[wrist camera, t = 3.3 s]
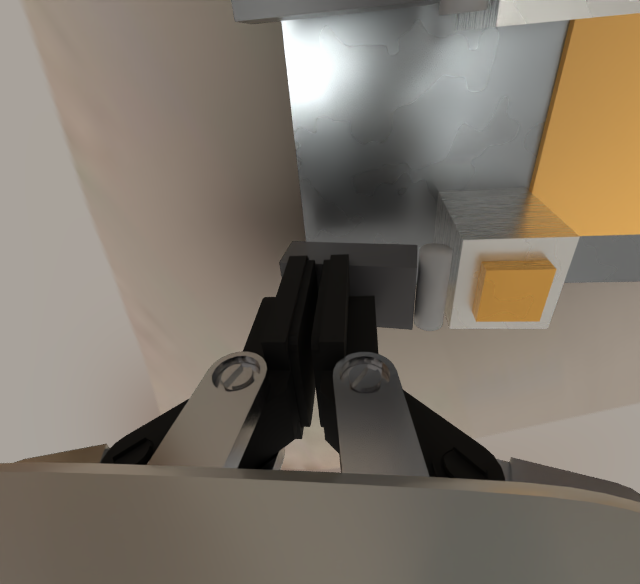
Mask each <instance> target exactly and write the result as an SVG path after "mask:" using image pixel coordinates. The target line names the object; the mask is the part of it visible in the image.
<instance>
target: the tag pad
mask: <svg viewBox="0 0 640 584" xmlns="http://www.w3.org/2000/svg"><path fill="white" fill-rule="evenodd" d="M529 191H530V192H531V193H532V194H533V195H534V196H535V197H536V198H538V199H539V200H540V201H541V202H542V203H543V204H544V205H545V206H546V207H548V208H549V209H550V210H551V211H552V212H553V213H554V214H555V215H556V216H558V217H559V218H560V219H561V220H562V221H563V222H564V223H565V224H566V225H568V226H569V227H570V228H571V229H572V230H573V231H574V232H575V233H576V234H578V235H579V236H602V235H636V234H640V13H635V14H625V15H614V16H604V17H594V18H584V19H573V20H570V23H569V27H568V31H567V35H566V39H565V44H564V48H563V52H562V56H561V60H560V64H559V68H558V72H557V76H556V80H555V85H554V89H553V93H552V97H551V101H550V105H549V109H548V113H547V117H546V122H545V126H544V130H543V134H542V138H541V142H540V146H539V150H538V154H537V158H536V163H535V167H534V171H533V175H532V179H531V183H530V187H529Z"/></svg>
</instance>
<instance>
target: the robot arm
mask: <svg viewBox="0 0 640 584" xmlns="http://www.w3.org/2000/svg"><path fill="white" fill-rule="evenodd" d="M315 388H316V393H317V401H318V409H319V418H320V425H321V427H324V433H325V440H326V441H327V442H328V443H329V444H330V445H331V446H332V447H333V448H334V449H335V450H336V451H337V452H338V453H339V457H340V467H341V473H334V472H311V471H286V470H280V469H281V466H282V463H283V460H284V455H285V446H287V445H288V444H289V443H291V442H292V441H293V440H294V439H302V435H303V429H304V427H310V425H311V420H312V412H313V404H314V396H315ZM0 584H640V494H639V493H638V492H636V491H634V490H633V489H631V488H628V487H626V486H623V485H621V484H618V483H614V482H611V481H607V480H602V479H598V478H594V477H590V476H586V475H582V474H578V473H574V472H570V471H565V470H561V469H557V468H553V467H549V466H544V465H541V464H537V463H532V462H528V461H524V460H520V459H516V458H512V457H511V459H510V462H506V461H503V460H499V459H496V458H495V457H494V456H493V455H492V454H491V453H490V452H489V451H488V450H487V449H486V448H484V447H483V446H482V445H480V444H479V443H478V442H476V441H475V440H473V439H472V438H471V437H469V436H468V435H466V434H465V433H463V432H462V431H461V430H459V429H458V428H456V427H455V426H454V425H452V424H451V423H449V422H448V421H447V420H445V419H444V418H442V417H441V416H439V415H438V414H437V413H435V412H434V411H432V410H431V409H430V408H428V407H427V406H425V405H424V404H422V403H421V402H420V401H418V400H417V399H415V398H414V397H413V396H411V395H410V394H408V393H407V392H406V391H404V390H403V389H402V386H401V383H400V380H399V376H398V373H397V370H396V369H395V367H394V365H393V363H391V362H390V361H389V360H388V359H387V358H385V357H383V356H381V355H379V354H378V341H377V325H376V309H375V296H350V280H349V254H339V255H331V256H330V259H327V260H324V262H323V268H322V274H321V280H320V286H319V292H318V287H317V277H316V267H315V260H309V258H308V255H305V256H289V259H288V262H287V265H286V268H285V271H284V274H283V277H282V280H281V283H280V286H279V289H278V292H277V295H276V297H265V298H263V300H262V302H261V305H260V308H259V310H258V313H257V315H256V318H255V321H254V323H253V326H252V329H251V331H250V334H249V337H248V339H247V342H246V345H245V347H244V350H243V352H236V353H231V354H228V355H226V356H224V357H222V358H220V359H219V360H217V361H216V362H215V363H214V364H213V365H212V366H211V367H210V368H209V369H208V371H207V372H206V374H205V376H204V377H203V379H202V380H201V382H200V383H199V385H198V386H197V388H196V389H195V391H194V393H193V394H192V396H191V397H190V399H188V400H186V401H184V402H183V403H181V404H179V405H178V406H176V407H174V408H172V409H171V410H169V411H167V412H166V413H164V414H162V415H161V416H159V417H157V418H155V419H154V420H152V421H150V422H149V423H147V424H145V425H143V426H142V427H140V428H139V429H137V430H135V431H133V432H131V433H130V434H128V435H126V436H125V437H123V438H122V439H121V440H119V441H118V442H116V443H115V444H114V445H113V446H112V447H111V448H109V447H108V445H107V444H102V445H97V446H91V447H86V448H80V449H75V450H70V451H64V452H59V453H54V454H48V455H43V456H38V457H32V458H27V459H23V460H20V461H17V462H14V463H0Z"/></svg>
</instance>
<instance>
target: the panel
mask: <svg viewBox="0 0 640 584" xmlns="http://www.w3.org/2000/svg"><path fill="white" fill-rule="evenodd" d="M439 5H440V1H439V2H437V3H435V4H433V5H428V6H419V7H409V8H400V9H390V10H381V11H371V12H362V13H352V14H343V15H334V16H324V17H315V18H305V19H296V20H286V21H281V22H282V31H283V40H284V49H285V58H286V67H287V76H288V85H289V93H290V102H291V111H292V120H293V129H294V138H295V147H296V156H297V165H298V174H299V183H300V192H301V200H302V209H303V218H304V227H305V236H306V242H336V243H370V244H405V245H417V276H418V263H419V251H420V248H421V247H422V246H423V245H425V244H430V243H440V244H444V245H447V246H449V247H450V248H451V249H452V250H453V253H452V261H451V268H450V275H449V282H448V289H447V297H446V304H445V311H444V313H445V316H446V319H447V322H448V326H449V329H548V327H549V324H550V321H551V318H552V315H553V312H554V310H555V307H556V304H557V301H558V298H559V295H560V292H561V289H562V287H563V284H564V283H572V282H637V281H640V234H636V235H602V236H579V235H578V234H576V233H575V232H574V231H573V230H572V229H571V228H570V227H569V226H568V225H566V224H565V223H564V222H563V221H562V220H561V219H560V218H559V217H558V216H556V215H555V214H554V213H553V212H552V211H551V210H550V209H549V208H548V207H546V206H545V205H544V204H543V203H542V202H541V201H540V200H539V199H538V198H536V197H535V196H534V195H533V194H532V193H531V192H530V191H529V187H530V183H531V179H532V175H533V171H534V167H535V163H536V158H537V154H538V150H539V146H540V142H541V138H542V134H543V130H544V126H545V122H546V117H547V113H548V109H549V105H550V101H551V97H552V93H553V89H554V85H555V80H556V76H557V72H558V68H559V64H560V60H561V56H562V52H563V48H564V44H565V39H566V35H567V31H568V27H569V23H570V20H573V19H584V18H594V17H604V16H614V15H625V14H635V13H640V0H488V1H487V8H486V10H482V11H475V12H467V13H457V14H447V15H439ZM417 276H416V285H417Z"/></svg>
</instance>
